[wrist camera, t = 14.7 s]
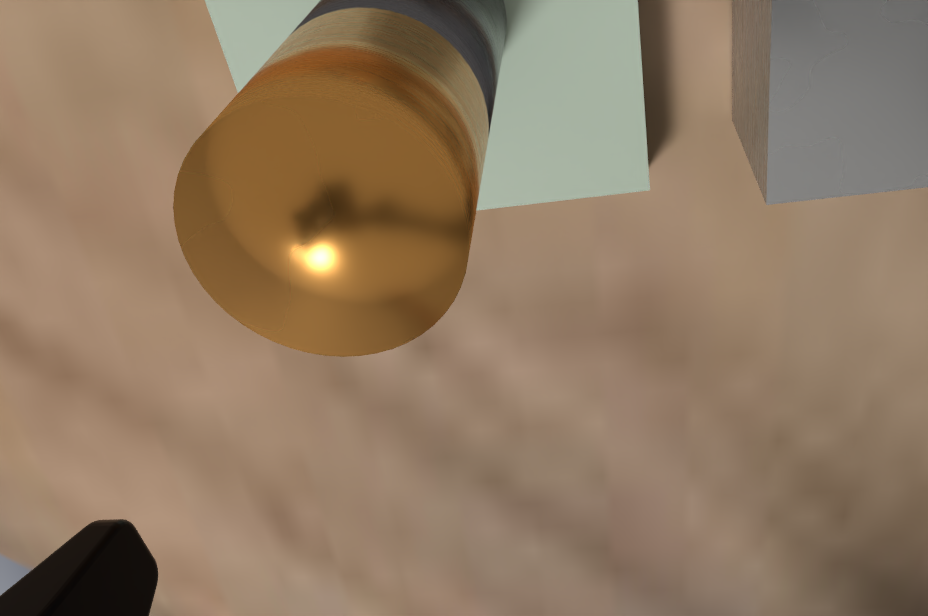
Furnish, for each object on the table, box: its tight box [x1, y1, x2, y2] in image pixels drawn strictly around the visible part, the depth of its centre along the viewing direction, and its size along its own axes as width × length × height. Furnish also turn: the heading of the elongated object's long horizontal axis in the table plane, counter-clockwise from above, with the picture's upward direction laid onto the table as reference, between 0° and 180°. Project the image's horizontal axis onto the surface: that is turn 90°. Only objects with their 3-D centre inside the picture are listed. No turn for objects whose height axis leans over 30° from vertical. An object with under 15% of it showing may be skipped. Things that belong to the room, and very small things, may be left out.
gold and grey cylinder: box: [173, 0, 507, 357], centre depth 13 cm, size 4×4×9 cm
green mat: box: [205, 0, 650, 210], centre depth 18 cm, size 9×9×1 cm
